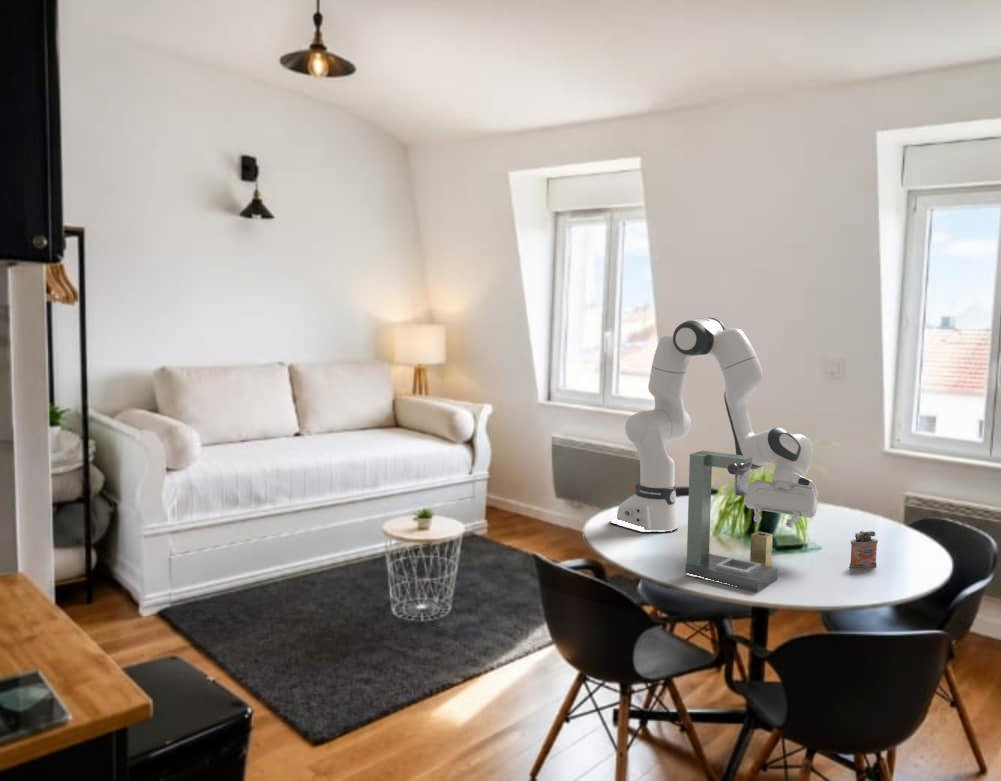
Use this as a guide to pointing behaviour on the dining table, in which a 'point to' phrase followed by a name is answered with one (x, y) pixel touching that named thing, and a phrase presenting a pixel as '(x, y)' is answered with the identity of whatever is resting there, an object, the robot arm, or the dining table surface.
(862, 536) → the lighter
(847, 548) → the dining table surface
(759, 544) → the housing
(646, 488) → the robot arm
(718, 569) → the press
